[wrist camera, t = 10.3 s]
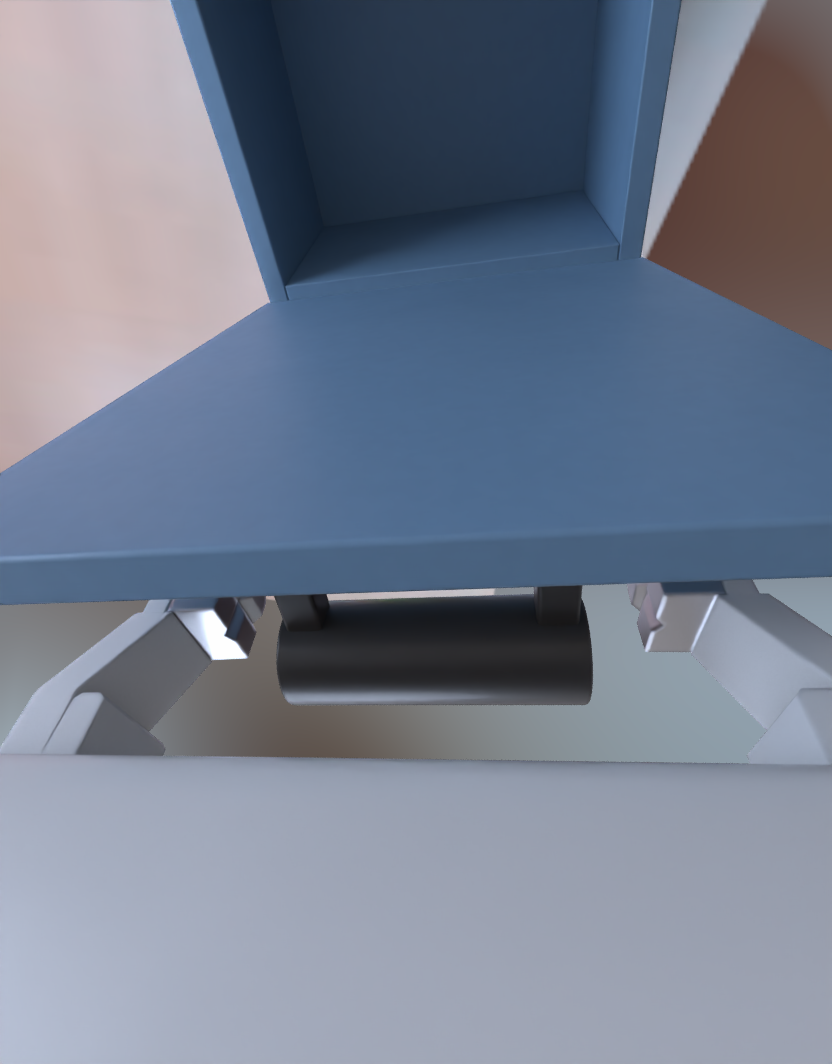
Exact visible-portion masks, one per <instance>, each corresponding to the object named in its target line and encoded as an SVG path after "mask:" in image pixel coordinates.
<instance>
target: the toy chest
mask: <svg viewBox="0 0 832 1064" xmlns="http://www.w3.org/2000/svg"><path fill="white" fill-rule="evenodd" d="M681 1H682V0H170V2H171V5H172V8H173V11H174V14H175V17H176V20H177V23H178V26H179V29H180V32H181V35H182V38H183V41H184V44H185V47H186V50H187V53H188V56H189V59H190V62H191V65H192V68H193V71H194V74H195V77H196V80H197V83H198V86H199V89H200V92H201V95H202V98H203V101H204V104H205V107H206V110H207V113H208V116H209V119H210V122H211V125H212V128H213V131H214V134H215V137H216V140H217V143H218V146H219V149H220V152H221V155H222V158H223V161H224V164H225V167H226V170H227V173H228V176H229V179H230V182H231V185H232V188H233V191H234V194H235V197H236V200H237V203H238V206H239V209H240V212H241V215H242V218H243V221H244V224H245V227H246V230H247V233H248V236H249V239H250V242H251V245H252V248H253V251H254V254H255V257H256V260H257V263H258V266H259V269H260V272H261V275H262V278H263V282H264V285H265V288H266V291H267V294H268V297H269V300H270V303H274V302H282V301H290V300H298V299H306V298H315V297H323V296H331V295H339V294H347V293H356V292H364V291H372V290H380V289H388V288H396V287H405V286H413V285H421V284H429V283H437V282H446V281H454V280H462V279H470V278H478V277H487V276H495V275H503V274H511V273H519V272H527V271H536V270H544V269H552V268H560V267H568V266H577V265H585V264H593V263H601V262H609V261H617V260H626V259H634V258H641V252H642V246H643V240H644V234H645V227H646V221H647V215H648V208H649V202H650V196H651V189H652V183H653V177H654V171H655V164H656V158H657V152H658V145H659V139H660V133H661V126H662V120H663V114H664V108H665V101H666V95H667V89H668V82H669V76H670V70H671V64H672V57H673V51H674V45H675V38H676V32H677V26H678V19H679V13H680V7H681Z"/></svg>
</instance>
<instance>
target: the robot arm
mask: <svg viewBox="0 0 832 1064" xmlns="http://www.w3.org/2000/svg"><path fill="white" fill-rule="evenodd" d="M627 586H628V592H629V597H630V600H631V604H632V605H633V606H634V607H635V608H637V609H638V610H639V611H640V614H639V617H638V621H637V625H638V628H639V632H640V635H641V639H642V642H643V645H644V649H645V651H646V652H692V653H691V654H692V656H693V657H694V658H696V660H698V661H699V663H700V664H701V665H702V666H703V667H704V668H705V669H706V670H707V671H708V672H709V673H710V674H711V675H712V676H713V677H714V678H715V679H716V680H717V681H718V682H719V683H720V684H721V685H722V686H723V687H724V688H725V689H726V690H727V691H728V692H729V693H730V694H731V695H732V696H733V697H734V698H735V699H736V700H737V701H738V702H739V703H740V704H741V705H742V706H743V707H744V708H745V709H746V710H747V711H748V712H749V713H750V714H751V715H752V716H753V717H754V718H755V719H756V720H757V721H758V722H759V723H760V724H761V725H762V726H763V727H764V728H765V729H766V730H767V731H766V732H765V733H764V735H763V736H762V737H761V738H760V740H759V741H758V742H757V743H756V745H755V746H754V747H753V748H752V750H751V751H750V752H749V753H748V755H747V758H748V760H749V763H750V764H738V763H737V764H735V763H734V764H733V763H731V764H730V763H664V762H589V761H519V760H517V761H516V760H512V761H511V760H446V759H443V760H442V759H373V758H371V759H370V758H300V757H298V758H297V757H295V758H294V757H223V756H163V755H164V752H165V747H164V745H163V743H162V742H161V741H159V740H158V739H157V738H156V737H155V736H153V735H152V734H151V733H150V732H149V731H150V730H151V729H152V728H153V727H154V725H155V724H156V723H157V722H158V721H159V720H160V719H161V718H162V717H163V716H164V715H165V714H166V712H167V711H168V710H169V709H170V708H171V707H172V706H173V705H174V704H175V702H176V701H177V700H178V699H179V698H180V697H181V696H182V695H183V693H184V692H185V691H186V690H187V689H188V688H189V687H190V686H191V685H192V684H193V682H194V681H195V680H196V679H197V678H198V677H199V676H200V674H202V672H203V671H204V670H205V669H206V668H207V667H208V666H209V665H210V664H211V662H212V661H211V660H216V659H217V660H218V659H240V658H248V656H249V653H250V650H251V647H252V644H253V641H254V638H255V635H256V630H255V628H254V625H253V623H254V622H255V621H256V620H257V619H259V618H260V617H261V616H262V614H263V611H264V608H265V604H266V596H252V597H223V598H194V599H164V600H149V602H148V604H147V605H146V607H145V609H144V611H143V613H136V614H135V615H133V616H132V617H131V618H129V619H128V620H127V621H125V622H124V623H123V624H121V625H120V626H119V627H118V628H116V629H115V630H114V631H112V632H111V633H110V634H109V635H108V636H106V637H105V638H103V639H102V640H101V641H99V642H98V643H97V644H96V645H94V646H93V647H92V648H90V649H89V650H88V651H87V652H85V653H84V654H83V655H82V656H80V657H79V658H78V659H77V660H75V661H74V662H72V663H71V664H70V665H69V666H67V667H66V668H65V669H63V670H62V671H61V672H60V673H58V674H57V675H56V676H54V677H53V678H52V679H50V680H49V681H48V682H47V683H45V684H44V685H43V686H41V687H40V688H39V689H37V690H36V691H35V693H34V694H33V696H32V698H31V699H30V701H29V702H28V704H27V706H26V707H25V709H24V710H23V712H22V713H21V715H20V717H19V718H18V720H17V721H16V723H15V724H14V726H13V728H12V729H11V731H10V732H9V734H8V735H7V737H6V739H5V740H4V742H3V743H2V745H1V747H0V1064H832V636H831V635H829V634H828V633H826V632H825V631H823V630H822V629H820V628H819V627H817V626H816V625H814V624H813V623H811V622H810V621H808V620H807V619H805V618H804V617H802V616H801V615H800V614H798V613H796V612H795V611H793V610H792V609H790V608H789V607H788V606H786V605H785V604H783V603H782V602H780V601H779V600H777V599H776V598H774V597H773V596H771V595H770V594H760V593H759V591H758V590H757V588H756V586H755V584H754V582H753V580H752V579H751V580H721V581H692V582H663V583H633V584H627Z"/></svg>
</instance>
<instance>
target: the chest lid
mask: <svg viewBox="0 0 832 1064" xmlns="http://www.w3.org/2000/svg"><path fill="white" fill-rule="evenodd" d="M808 577H832V350H830V349H828V348H826V347H824V346H822V345H820V344H818V343H816V342H814V341H812V340H810V339H807V338H806V337H804V336H802V335H800V334H798V333H796V332H793V331H792V330H789V329H788V328H786V327H784V326H781V325H779V324H777V323H775V322H773V321H771V320H769V319H767V318H765V317H763V316H761V315H759V314H757V313H755V312H753V311H751V310H749V309H747V308H745V307H743V306H741V305H739V304H737V303H735V302H733V301H731V300H729V299H727V298H725V297H723V296H720V295H718V294H716V293H714V292H712V291H710V290H708V289H706V288H704V287H702V286H700V285H698V284H696V283H694V282H692V281H690V280H688V279H686V278H684V277H682V276H680V275H678V274H675V273H674V272H671V271H670V270H668V269H666V268H664V267H662V266H659V265H658V264H656V263H653V262H651V261H649V260H647V259H645V258H643V257H642V258H634V259H626V260H617V261H609V262H601V263H593V264H585V265H577V266H568V267H560V268H552V269H544V270H536V271H527V272H519V273H511V274H503V275H495V276H487V277H478V278H470V279H462V280H454V281H446V282H437V283H429V284H421V285H413V286H405V287H396V288H388V289H380V290H372V291H364V292H356V293H347V294H339V295H331V296H323V297H315V298H306V299H298V300H290V301H282V302H274V303H267V304H266V305H264V306H262V307H261V308H259V309H258V310H256V311H255V312H253V313H251V314H250V315H248V316H247V317H245V318H244V319H242V320H240V321H239V322H237V323H236V324H234V325H233V326H231V327H229V328H228V329H226V330H225V331H223V332H222V333H220V334H218V335H217V336H215V337H214V338H212V339H211V340H209V341H207V342H206V343H204V344H203V345H201V346H200V347H198V348H196V349H195V350H193V351H192V352H190V353H189V354H187V355H185V356H184V357H182V358H181V359H179V360H178V361H176V362H174V363H173V364H171V365H170V366H168V367H167V368H165V369H163V370H162V371H160V372H159V373H157V374H156V375H154V376H152V377H151V378H149V379H148V380H146V381H145V382H143V383H141V384H140V385H138V386H137V387H135V388H134V389H132V390H130V391H129V392H127V393H126V394H124V395H123V396H121V397H119V398H118V399H116V400H115V401H113V402H112V403H110V404H108V405H107V406H105V407H104V408H102V409H101V410H99V411H97V412H96V413H94V414H93V415H91V416H90V417H88V418H86V419H85V420H83V421H82V422H80V423H79V424H77V425H75V426H74V427H72V428H71V429H69V430H68V431H66V432H64V433H63V434H61V435H60V436H58V437H57V438H55V439H53V440H52V441H50V442H49V443H47V444H46V445H44V446H43V447H41V448H39V449H38V450H36V451H35V452H33V453H32V454H30V455H28V456H27V457H25V458H24V459H22V460H21V461H19V462H17V463H16V464H14V465H13V466H11V467H10V468H8V469H6V470H5V471H3V472H2V473H0V605H18V604H47V603H74V602H75V603H76V602H103V601H104V602H105V601H134V600H164V599H194V598H223V597H252V596H274V597H275V600H276V602H277V605H278V607H279V610H280V613H281V615H282V618H283V620H282V623H281V626H280V631H279V636H278V642H277V675H278V681H279V685H280V689H281V691H282V694H283V696H284V698H285V699H286V701H287V702H289V703H290V704H292V705H586V704H588V703H589V701H590V698H591V694H592V684H593V662H592V648H591V638H590V630H589V624H588V620H587V614H586V610H585V606H584V603H583V601H582V599H581V594H582V585H601V584H602V585H604V584H633V583H663V582H692V581H721V580H751V579H780V578H808ZM515 587H534V594H522V595H521V594H520V595H489V596H457V597H426V598H395V599H364V600H333V601H328V598H327V595H326V594H340V593H369V592H399V591H428V590H457V589H487V588H515Z"/></svg>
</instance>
